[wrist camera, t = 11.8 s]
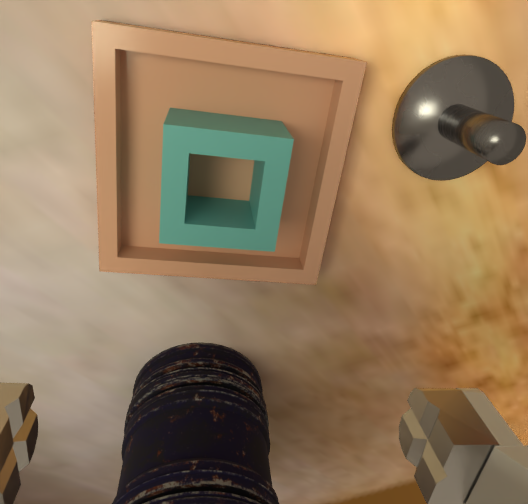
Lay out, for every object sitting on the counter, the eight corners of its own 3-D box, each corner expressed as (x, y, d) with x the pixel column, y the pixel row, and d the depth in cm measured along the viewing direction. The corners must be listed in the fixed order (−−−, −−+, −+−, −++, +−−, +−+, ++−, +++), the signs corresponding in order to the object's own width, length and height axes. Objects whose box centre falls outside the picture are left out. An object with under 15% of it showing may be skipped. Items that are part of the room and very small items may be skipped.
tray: (309, 267, 30) (316, 284, 28) (106, 253, 28) (99, 271, 26) (354, 58, 24) (366, 62, 22) (101, 20, 22) (91, 20, 20)
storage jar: (157, 325, 31) (120, 557, 18) (284, 361, 33) (333, 585, 20) (115, 422, 35) (59, 672, 21) (232, 447, 37) (245, 682, 24)
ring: (281, 121, 24) (293, 139, 21) (266, 221, 27) (274, 251, 24) (169, 107, 23) (163, 124, 20) (165, 212, 26) (159, 243, 23)
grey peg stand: (483, 182, 28) (539, 217, 23) (378, 171, 27) (415, 205, 22) (528, 64, 25) (604, 76, 20) (412, 46, 24) (463, 54, 19)
